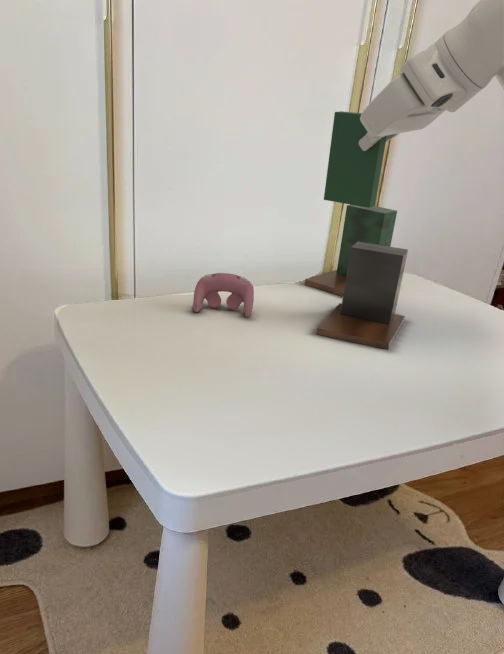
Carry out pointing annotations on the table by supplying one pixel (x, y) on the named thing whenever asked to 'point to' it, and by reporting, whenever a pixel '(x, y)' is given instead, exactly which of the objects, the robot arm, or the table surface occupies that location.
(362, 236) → the green bookend
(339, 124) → the green book
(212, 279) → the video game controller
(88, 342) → the table surface
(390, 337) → the wooden bookend
